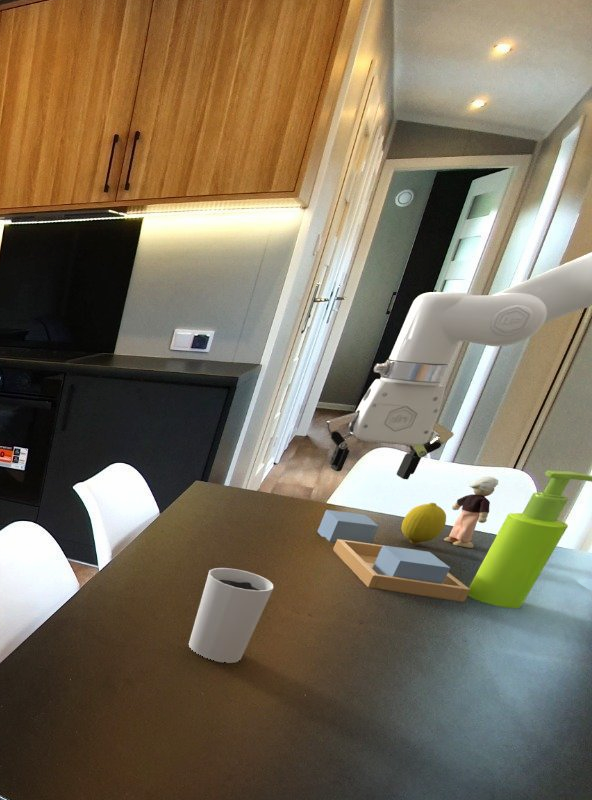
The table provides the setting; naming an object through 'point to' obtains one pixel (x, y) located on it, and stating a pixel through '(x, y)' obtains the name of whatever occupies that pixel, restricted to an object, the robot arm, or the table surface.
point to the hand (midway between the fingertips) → (368, 473)
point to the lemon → (423, 523)
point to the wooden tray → (362, 563)
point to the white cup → (228, 613)
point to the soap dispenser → (523, 546)
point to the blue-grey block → (410, 564)
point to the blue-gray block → (347, 527)
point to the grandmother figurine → (472, 511)
